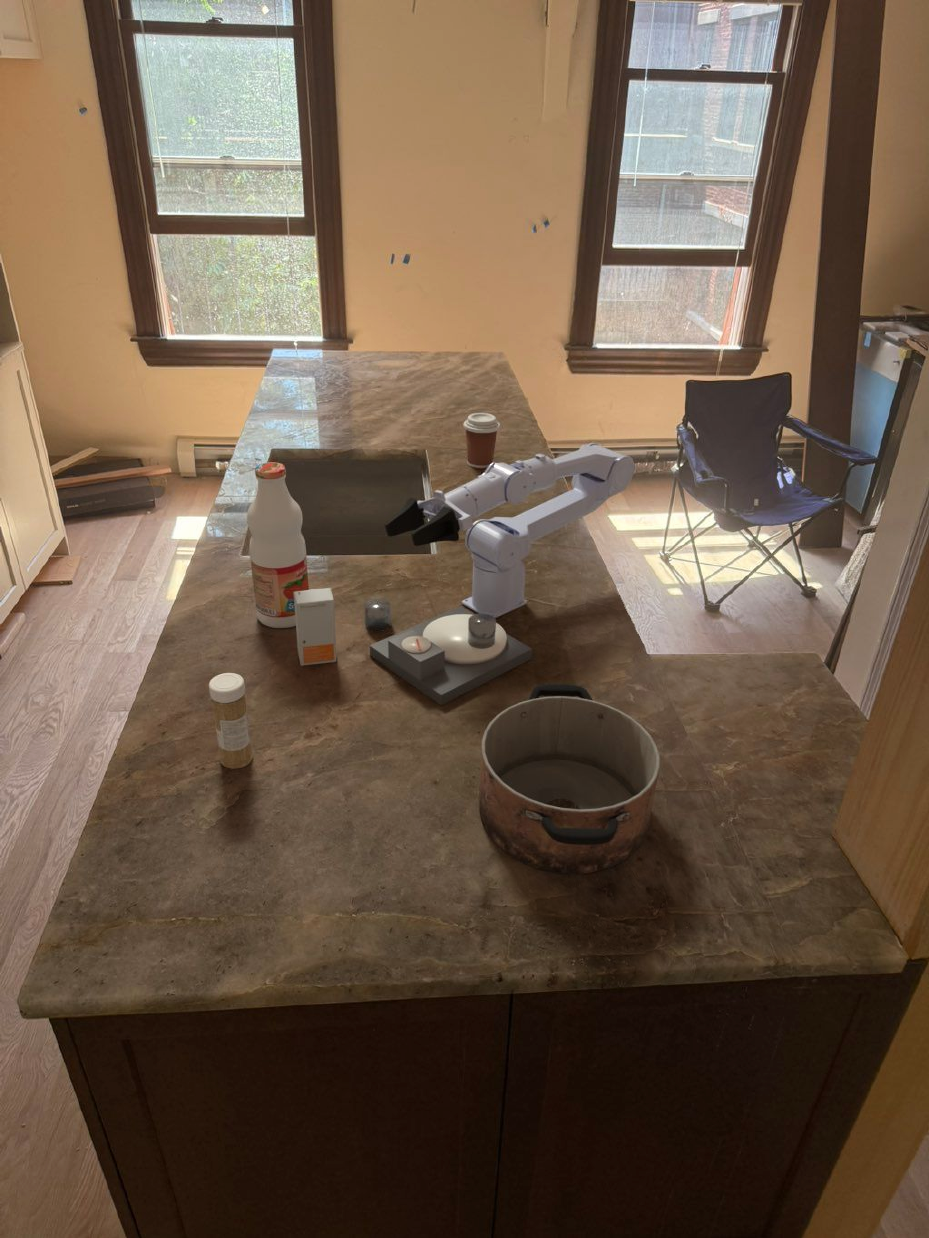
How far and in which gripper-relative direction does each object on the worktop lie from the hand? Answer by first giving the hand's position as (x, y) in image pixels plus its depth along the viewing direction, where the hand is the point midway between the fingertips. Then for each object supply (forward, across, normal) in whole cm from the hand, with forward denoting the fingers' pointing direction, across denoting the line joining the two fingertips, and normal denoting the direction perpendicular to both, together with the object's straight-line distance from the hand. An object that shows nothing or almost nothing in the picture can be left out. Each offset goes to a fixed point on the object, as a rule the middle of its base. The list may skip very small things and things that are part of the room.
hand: (400, 535), depth 139 cm
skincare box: (+17, -7, +17) cm, 25 cm away
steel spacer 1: (+3, -10, +18) cm, 21 cm away
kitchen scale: (0, +5, +22) cm, 22 cm away
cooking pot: (+10, +42, +27) cm, 51 cm away
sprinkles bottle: (+39, +8, +16) cm, 43 cm away
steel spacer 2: (-5, +8, +20) cm, 22 cm away
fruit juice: (+15, -22, +14) cm, 30 cm away
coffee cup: (-60, -60, +20) cm, 87 cm away
